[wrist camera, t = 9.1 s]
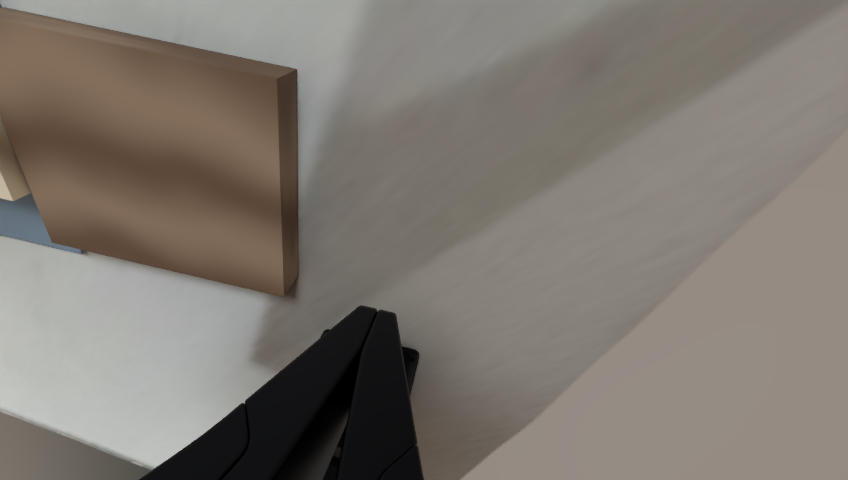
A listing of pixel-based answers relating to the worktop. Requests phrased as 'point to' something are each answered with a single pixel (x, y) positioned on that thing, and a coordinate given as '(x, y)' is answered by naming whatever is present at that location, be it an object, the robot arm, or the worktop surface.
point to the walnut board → (155, 149)
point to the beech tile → (10, 170)
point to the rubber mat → (26, 222)
